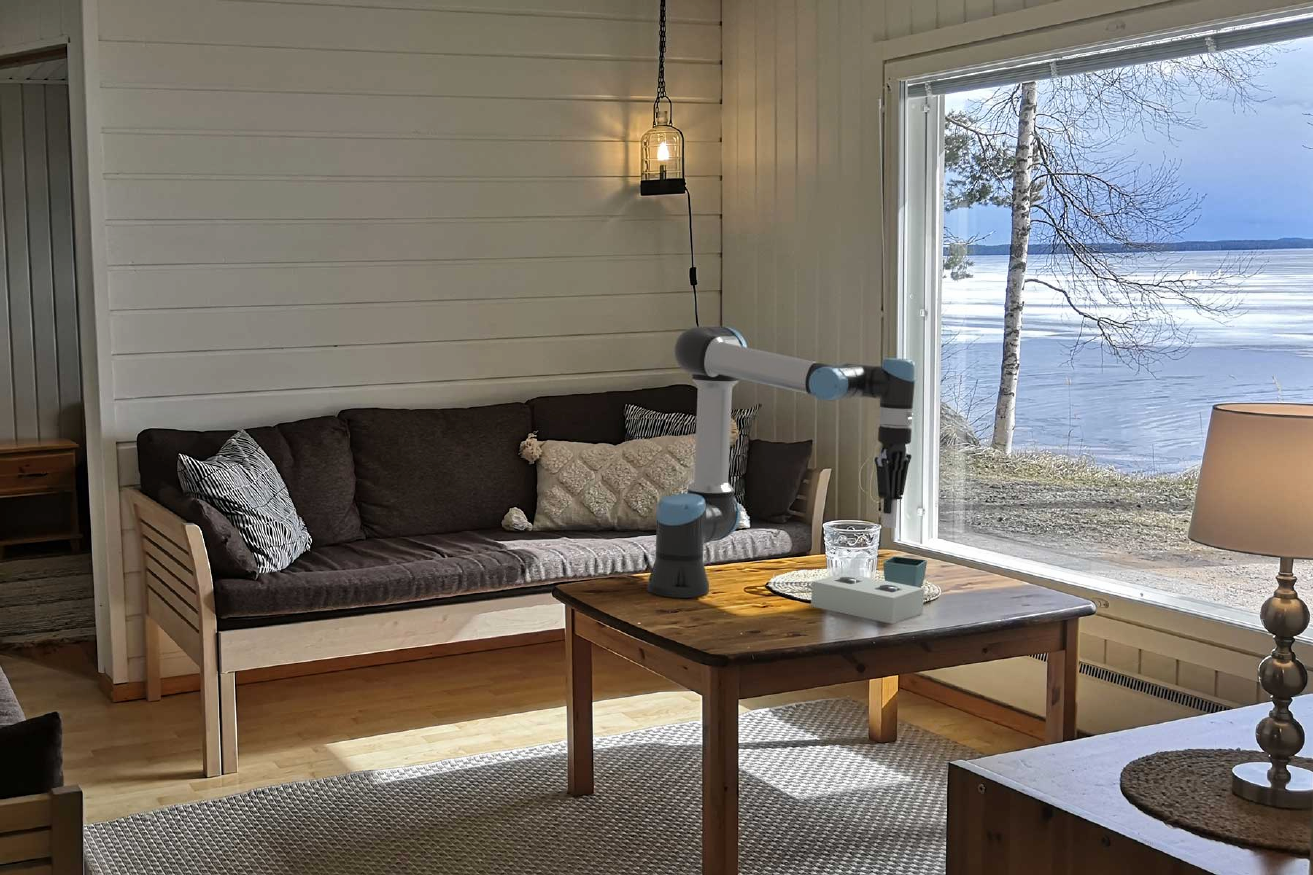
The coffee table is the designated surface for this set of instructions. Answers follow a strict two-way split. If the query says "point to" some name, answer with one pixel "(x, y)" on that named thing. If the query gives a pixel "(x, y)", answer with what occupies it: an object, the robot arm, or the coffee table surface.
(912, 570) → the flower pot
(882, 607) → the peg block
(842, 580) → the left peg
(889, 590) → the right peg
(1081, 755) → the coffee table surface
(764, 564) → the coffee table surface
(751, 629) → the coffee table surface
